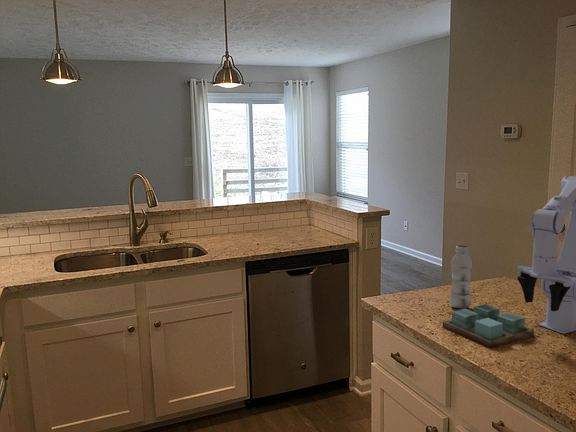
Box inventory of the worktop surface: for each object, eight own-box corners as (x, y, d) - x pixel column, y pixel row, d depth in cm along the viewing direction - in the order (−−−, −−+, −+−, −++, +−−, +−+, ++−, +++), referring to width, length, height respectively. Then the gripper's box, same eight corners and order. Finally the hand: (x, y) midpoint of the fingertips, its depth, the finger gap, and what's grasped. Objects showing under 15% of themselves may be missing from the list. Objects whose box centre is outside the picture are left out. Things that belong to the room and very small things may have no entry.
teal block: (487, 331, 142) (487, 317, 142) (502, 337, 138) (503, 323, 137) (474, 335, 140) (474, 321, 139) (489, 341, 136) (490, 326, 135)
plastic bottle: (472, 311, 160) (475, 249, 157) (449, 310, 162) (452, 248, 158) (469, 304, 167) (472, 244, 163) (447, 303, 168) (450, 243, 165)
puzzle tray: (484, 316, 156) (485, 301, 155) (533, 335, 141) (535, 318, 140) (442, 326, 148) (443, 310, 148) (489, 348, 133) (490, 330, 133)
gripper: (510, 252, 138) (507, 300, 140) (560, 263, 125) (556, 317, 127) (528, 249, 141) (525, 296, 143) (579, 260, 128) (575, 312, 130)
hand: (541, 306), depth 135 cm, fingers open, 7 cm apart
